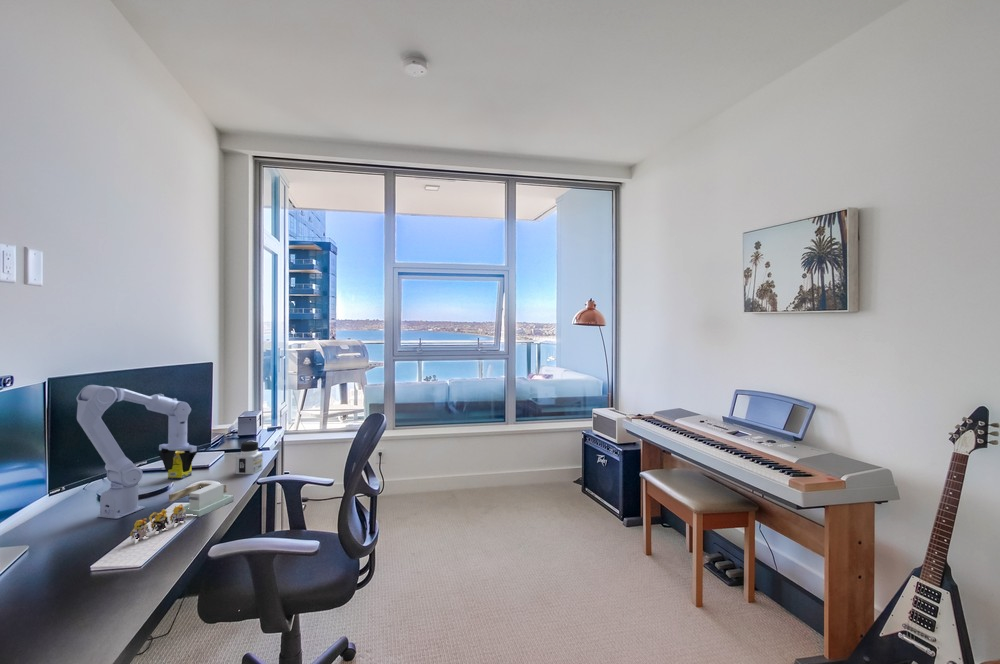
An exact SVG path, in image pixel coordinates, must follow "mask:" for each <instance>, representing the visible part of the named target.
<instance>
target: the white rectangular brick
mask: <svg viewBox="0 0 1000 664" xmlns="http://www.w3.org/2000/svg"><path fill="white" fill-rule="evenodd" d="M210 484H211V485H209V486H206V487H204V488H201V489H199V490H196V491H194V492H191V493H190V494H189V495H188V496H189V497H188V500H189V501H188V502H189V503H188V504H189V509H194V510H200V509H202V508H204V507H207V506H209V505H211V504H213V503H215V502H218V501H220V500H222V499H223V494H224V493H225V492H224V485H225V484H224V483H210Z"/></svg>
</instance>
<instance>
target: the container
mask: <svg viewBox="0 0 1000 664" xmlns="http://www.w3.org/2000/svg"><path fill="white" fill-rule="evenodd" d="M263 458H264V453H263V451H259V442H258V441H256V440H247V441H243V442H241V443H240V454H237V455H236V456H235V475H254V474H256V473H258V472H260V471H261V470H263V468H264V467H263V465H264V463H263Z"/></svg>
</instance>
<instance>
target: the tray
mask: <svg viewBox="0 0 1000 664" xmlns="http://www.w3.org/2000/svg"><path fill="white" fill-rule="evenodd" d="M234 496H235V495H232V494H224V493H223V499H222V500H220V501H218V502H215V503H213V504H211V505H209V506H207V507H204V508H202V509H200V510H194V509H188V508H189V503H188V504H185V505H183V506H181V507H183V508H184V509H185V510H186V511H185V512H186V514H193V515H197V516H198V517H197V518H200V517H203V516H204V515H207V514H209V513H211V512H213V511H215V510H217V509H219V508H223V506H226V505H228V504H230V503H232V502H234V500H235V499H234ZM184 509H183V510H184Z"/></svg>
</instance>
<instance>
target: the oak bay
mask: <svg viewBox="0 0 1000 664" xmlns="http://www.w3.org/2000/svg"><path fill="white" fill-rule="evenodd" d="M211 484H212V483H207V482H198V483H197V484H194V485H191V486H189V487H186V488H183V489H180V490H178V491H175V492H173V493H170V494H168V502H169V503H172V502H174V501H177V500H179V499H182V498H184V497H187V496H189V494H190V493H191V492H194V491H196V490H199V489H200V486H201V487H203V488H204V487H206V486H209V485H211ZM224 493H227V485H226V484H224Z"/></svg>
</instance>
